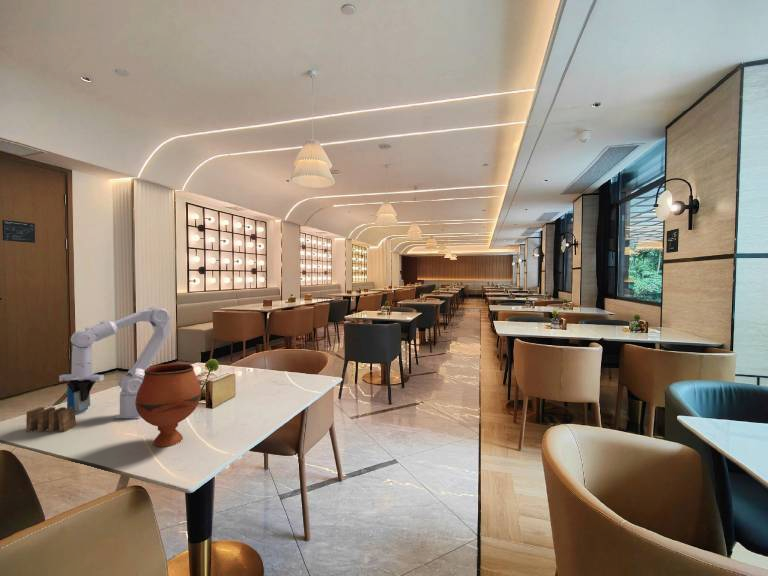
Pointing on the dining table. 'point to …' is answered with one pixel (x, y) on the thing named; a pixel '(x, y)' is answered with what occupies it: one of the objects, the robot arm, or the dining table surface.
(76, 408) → the slate head tile
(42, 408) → the walnut end tile
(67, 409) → the walnut tile
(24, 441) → the dining table surface
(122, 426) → the dining table surface
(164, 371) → the goblet
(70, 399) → the beverage can
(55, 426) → the walnut tile
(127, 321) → the robot arm
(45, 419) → the walnut tile
